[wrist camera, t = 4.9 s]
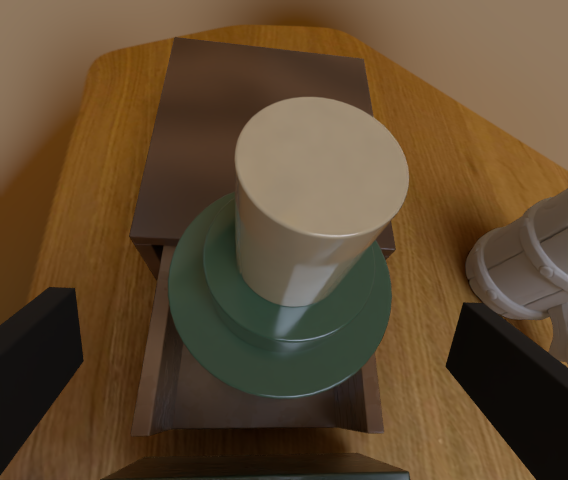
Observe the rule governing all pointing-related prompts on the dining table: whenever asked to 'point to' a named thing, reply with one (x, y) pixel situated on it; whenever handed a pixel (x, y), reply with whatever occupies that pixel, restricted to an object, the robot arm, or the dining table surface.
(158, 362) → the drawer
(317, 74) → the cabinet
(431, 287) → the dining table surface
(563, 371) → the robot arm
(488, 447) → the dining table surface
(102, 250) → the dining table surface
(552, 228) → the mug
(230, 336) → the oil bottle
